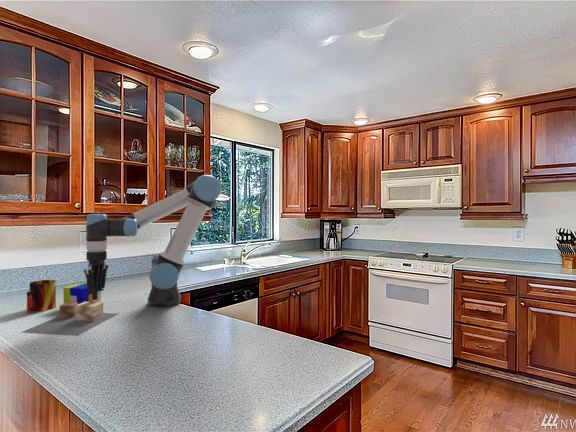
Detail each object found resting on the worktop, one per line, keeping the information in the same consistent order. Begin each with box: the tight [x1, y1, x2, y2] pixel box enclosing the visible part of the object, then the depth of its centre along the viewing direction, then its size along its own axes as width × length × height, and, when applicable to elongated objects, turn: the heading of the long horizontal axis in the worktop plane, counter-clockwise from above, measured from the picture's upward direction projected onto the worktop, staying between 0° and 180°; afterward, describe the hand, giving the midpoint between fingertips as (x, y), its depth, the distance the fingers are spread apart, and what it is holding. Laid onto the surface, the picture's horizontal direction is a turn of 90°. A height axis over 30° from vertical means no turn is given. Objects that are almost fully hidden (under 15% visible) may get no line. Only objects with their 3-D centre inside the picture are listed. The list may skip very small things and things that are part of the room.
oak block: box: [75, 301, 104, 321], centre depth 147 cm, size 8×6×6 cm
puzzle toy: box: [63, 282, 93, 304], centre depth 163 cm, size 10×10×10 cm
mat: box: [21, 312, 119, 337], centre depth 143 cm, size 22×26×1 cm
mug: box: [26, 279, 57, 314], centre depth 159 cm, size 10×14×12 cm
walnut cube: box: [58, 302, 78, 318], centre depth 150 cm, size 5×5×5 cm
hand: (96, 306), depth 152 cm, fingers closed
